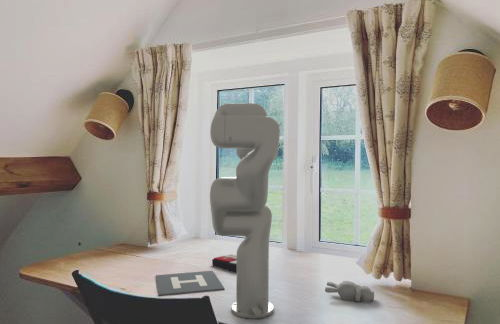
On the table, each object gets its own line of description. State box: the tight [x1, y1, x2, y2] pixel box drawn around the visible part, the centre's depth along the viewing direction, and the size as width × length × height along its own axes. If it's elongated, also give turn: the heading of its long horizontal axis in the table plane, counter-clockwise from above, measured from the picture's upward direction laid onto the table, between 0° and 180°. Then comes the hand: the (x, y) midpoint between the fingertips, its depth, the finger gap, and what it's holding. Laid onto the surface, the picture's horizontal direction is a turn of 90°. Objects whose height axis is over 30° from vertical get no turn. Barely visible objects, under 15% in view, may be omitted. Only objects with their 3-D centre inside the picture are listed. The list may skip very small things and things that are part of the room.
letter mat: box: [155, 270, 225, 297], centre depth 137 cm, size 22×22×1 cm
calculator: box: [211, 253, 237, 274], centre depth 158 cm, size 11×4×15 cm
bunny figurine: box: [324, 280, 375, 304], centre depth 121 cm, size 10×5×15 cm
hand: (253, 223), depth 139 cm, fingers closed on blue cube, 6 cm apart
